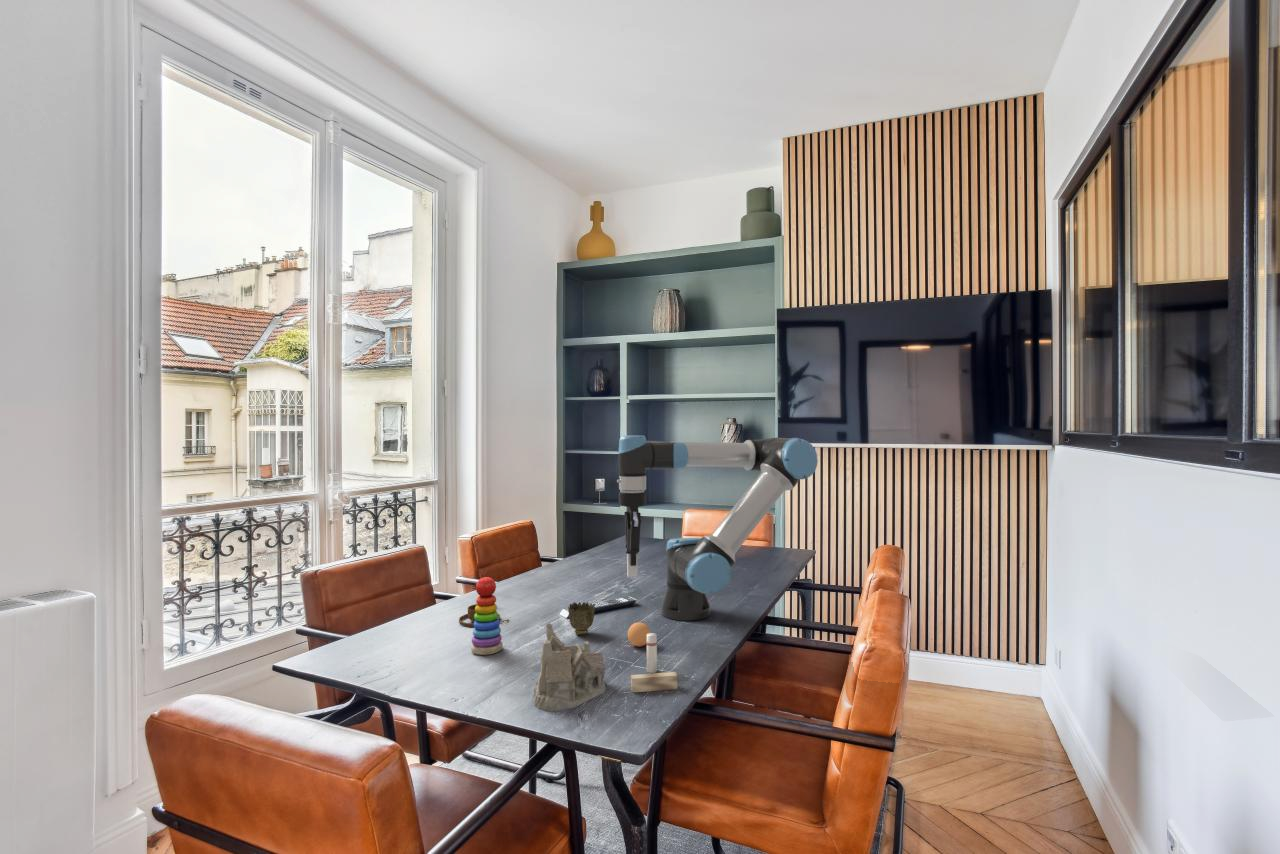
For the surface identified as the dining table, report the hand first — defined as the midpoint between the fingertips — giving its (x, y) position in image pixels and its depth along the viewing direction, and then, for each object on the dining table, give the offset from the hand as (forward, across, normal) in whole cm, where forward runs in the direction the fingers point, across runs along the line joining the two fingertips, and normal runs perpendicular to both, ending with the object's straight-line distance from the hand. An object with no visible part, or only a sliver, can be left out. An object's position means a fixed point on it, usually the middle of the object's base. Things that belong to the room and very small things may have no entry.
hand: (632, 576), depth 174 cm
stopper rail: (+16, +36, -1) cm, 40 cm away
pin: (+16, +26, 0) cm, 31 cm away
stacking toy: (+16, +6, -39) cm, 42 cm away
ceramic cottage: (+16, +35, -20) cm, 44 cm away
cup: (+16, -2, -14) cm, 21 cm away
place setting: (+17, -23, -40) cm, 50 cm away
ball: (+13, +10, 0) cm, 16 cm away
